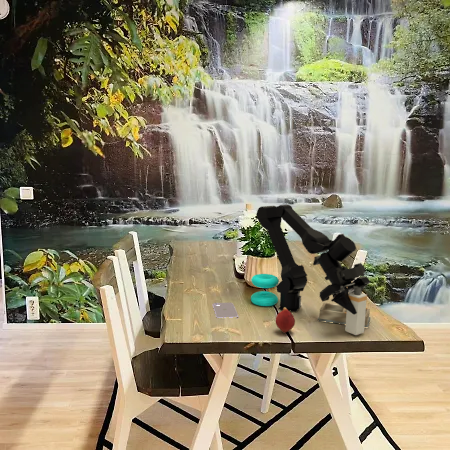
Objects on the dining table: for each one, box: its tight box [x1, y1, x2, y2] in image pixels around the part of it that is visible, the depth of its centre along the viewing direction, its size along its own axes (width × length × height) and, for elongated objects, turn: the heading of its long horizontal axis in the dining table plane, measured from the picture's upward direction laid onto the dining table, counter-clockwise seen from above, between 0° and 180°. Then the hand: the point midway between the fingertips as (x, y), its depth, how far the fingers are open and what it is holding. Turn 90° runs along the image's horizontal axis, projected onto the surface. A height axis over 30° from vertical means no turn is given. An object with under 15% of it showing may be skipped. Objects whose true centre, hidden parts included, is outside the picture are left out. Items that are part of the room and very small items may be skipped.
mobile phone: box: [212, 302, 239, 319], centre depth 158 cm, size 8×1×15 cm
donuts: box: [250, 273, 280, 307], centre depth 167 cm, size 10×10×10 cm
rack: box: [317, 302, 371, 328], centre depth 151 cm, size 16×9×4 cm, turn 68°
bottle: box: [344, 287, 368, 336], centre depth 139 cm, size 4×4×14 cm
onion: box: [275, 308, 296, 334], centre depth 140 cm, size 6×6×8 cm
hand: (359, 312), depth 138 cm, fingers closed on bottle, 4 cm apart
